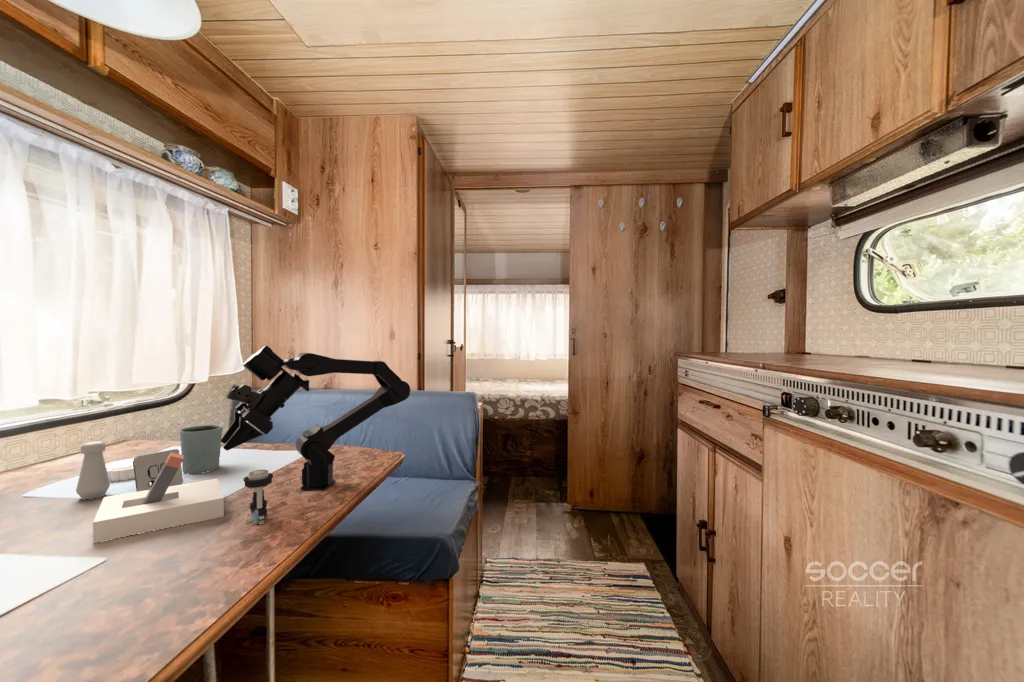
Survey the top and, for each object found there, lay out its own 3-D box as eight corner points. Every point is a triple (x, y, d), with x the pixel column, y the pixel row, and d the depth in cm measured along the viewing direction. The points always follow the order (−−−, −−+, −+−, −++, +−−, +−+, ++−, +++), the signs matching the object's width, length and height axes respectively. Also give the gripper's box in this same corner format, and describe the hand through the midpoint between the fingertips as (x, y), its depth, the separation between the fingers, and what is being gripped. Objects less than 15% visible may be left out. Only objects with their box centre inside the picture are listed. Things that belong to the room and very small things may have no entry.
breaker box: (217, 495, 104) (217, 478, 104) (223, 516, 91) (223, 497, 91) (103, 515, 92) (103, 497, 91) (93, 544, 79) (93, 522, 79)
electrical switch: (139, 496, 103) (137, 457, 104) (129, 494, 106) (128, 456, 106) (184, 484, 111) (182, 448, 112) (174, 483, 114) (172, 448, 114)
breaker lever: (155, 505, 92) (183, 455, 95) (155, 510, 89) (183, 459, 92) (142, 502, 91) (170, 452, 94) (141, 508, 88) (170, 455, 91)
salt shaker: (114, 494, 104) (114, 441, 104) (83, 503, 99) (83, 446, 98) (102, 491, 106) (102, 438, 106) (71, 499, 101) (71, 443, 101)
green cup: (175, 476, 118) (175, 433, 118) (183, 467, 127) (183, 426, 127) (220, 471, 122) (220, 429, 122) (224, 462, 131) (224, 423, 131)
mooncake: (86, 480, 115) (86, 466, 115) (136, 467, 127) (136, 455, 127) (116, 484, 112) (116, 470, 112) (165, 471, 123) (165, 458, 123)
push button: (276, 522, 88) (276, 474, 88) (246, 529, 85) (246, 479, 85) (270, 512, 94) (270, 466, 94) (241, 518, 90) (241, 471, 90)
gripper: (244, 369, 109) (191, 418, 102) (255, 373, 94) (193, 431, 87) (280, 397, 113) (230, 445, 107) (295, 406, 99) (239, 462, 92)
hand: (223, 445), depth 98 cm, fingers open, 8 cm apart
